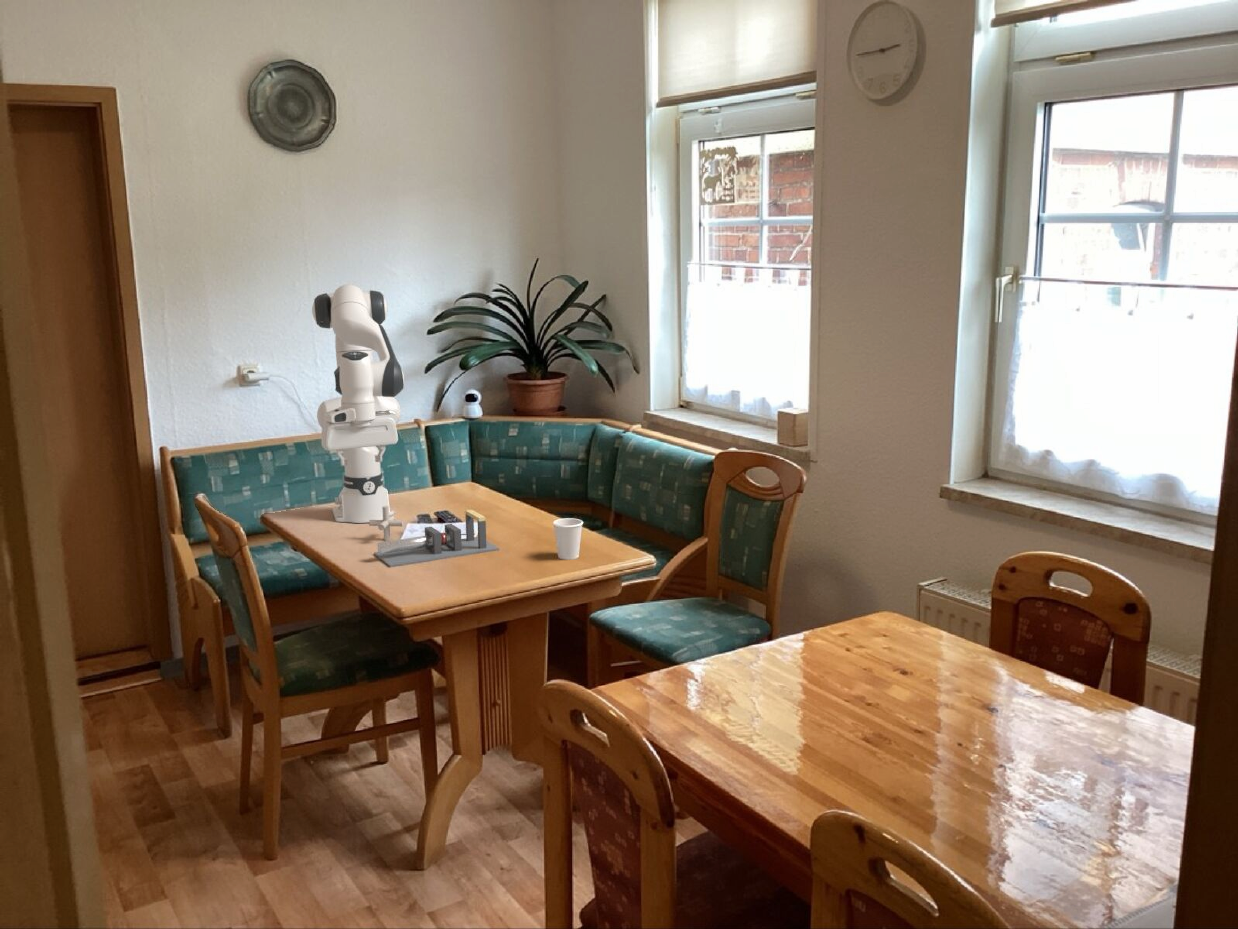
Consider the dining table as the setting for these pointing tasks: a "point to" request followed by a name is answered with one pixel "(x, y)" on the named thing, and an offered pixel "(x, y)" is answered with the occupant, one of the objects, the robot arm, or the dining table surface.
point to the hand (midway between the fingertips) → (361, 463)
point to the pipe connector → (386, 522)
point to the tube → (410, 543)
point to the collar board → (449, 550)
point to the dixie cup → (568, 537)
